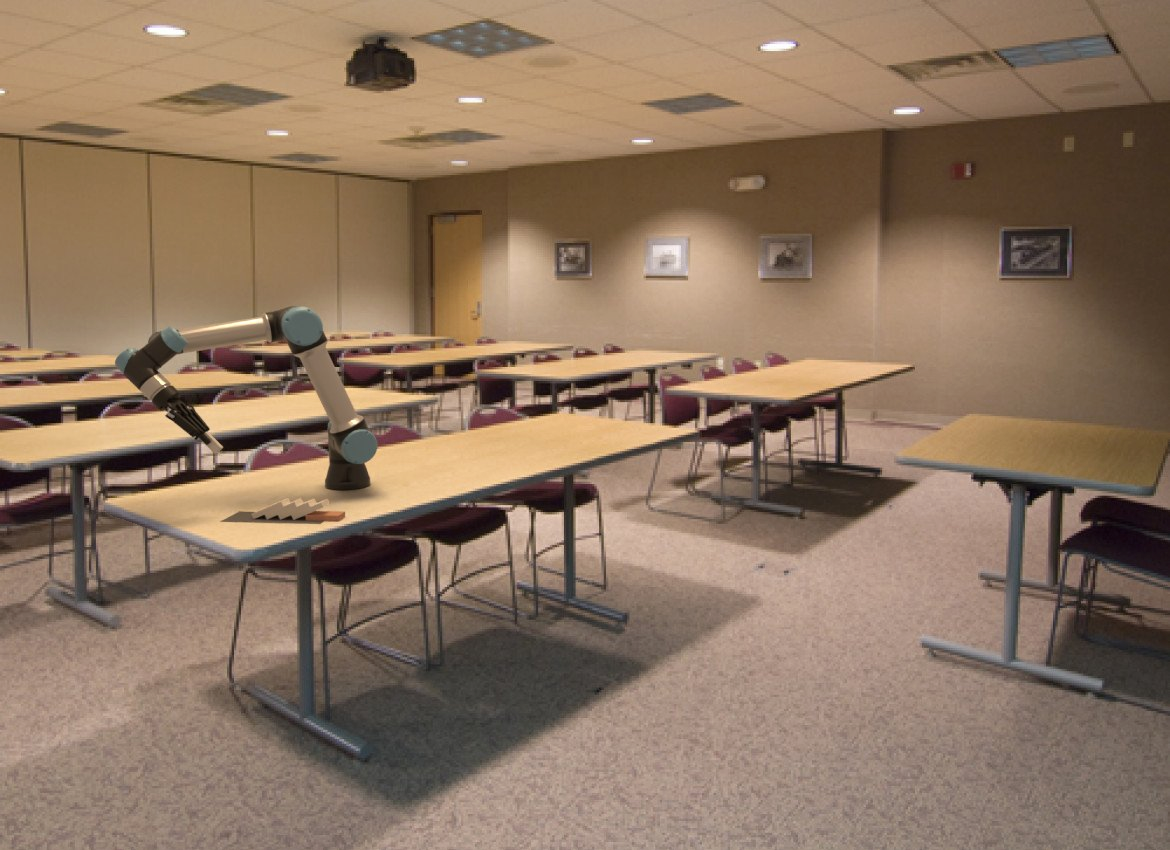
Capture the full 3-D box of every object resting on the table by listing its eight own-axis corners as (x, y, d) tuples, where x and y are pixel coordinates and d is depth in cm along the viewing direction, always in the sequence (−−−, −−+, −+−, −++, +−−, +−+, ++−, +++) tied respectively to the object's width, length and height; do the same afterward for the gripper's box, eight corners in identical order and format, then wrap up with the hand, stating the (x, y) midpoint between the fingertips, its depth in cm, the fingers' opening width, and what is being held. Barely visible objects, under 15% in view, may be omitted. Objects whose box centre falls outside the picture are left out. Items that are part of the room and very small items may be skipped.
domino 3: (277, 514, 263) (307, 502, 262) (285, 510, 268) (314, 498, 267) (280, 519, 263) (310, 507, 262) (287, 515, 268) (316, 503, 267)
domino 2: (264, 514, 264) (294, 501, 262) (271, 510, 269) (301, 497, 267) (266, 519, 264) (296, 506, 262) (274, 515, 269) (303, 502, 267)
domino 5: (305, 515, 263) (338, 515, 262) (312, 510, 267) (344, 511, 267) (305, 520, 263) (339, 521, 262) (312, 516, 268) (345, 516, 267)
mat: (220, 522, 262) (219, 521, 261) (239, 512, 273) (239, 511, 273) (320, 524, 259) (320, 523, 259) (335, 514, 271) (335, 513, 271)
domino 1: (251, 514, 264) (280, 501, 263) (259, 510, 269) (288, 497, 268) (253, 519, 264) (283, 506, 263) (261, 514, 269) (290, 502, 268)
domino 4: (291, 515, 263) (321, 502, 262) (298, 510, 268) (327, 498, 266) (293, 520, 263) (323, 507, 262) (300, 515, 268) (329, 503, 267)
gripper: (164, 399, 271) (221, 455, 272) (140, 404, 258) (200, 463, 259) (180, 382, 270) (237, 438, 271) (157, 386, 257) (217, 445, 258)
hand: (219, 450), depth 265 cm, fingers closed
